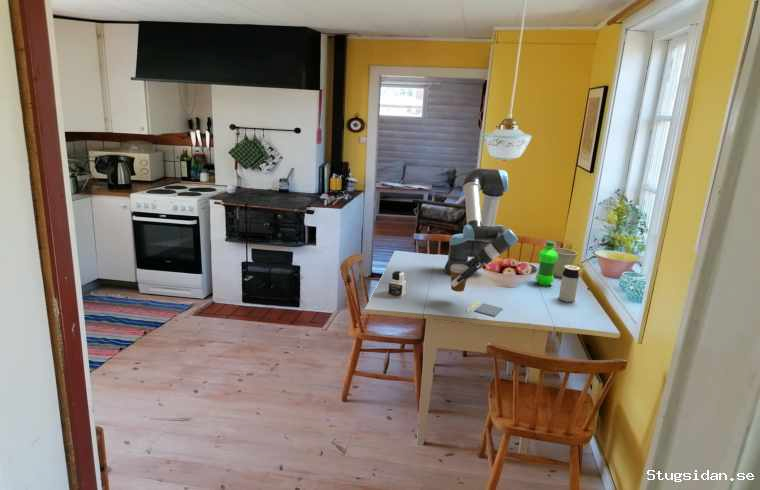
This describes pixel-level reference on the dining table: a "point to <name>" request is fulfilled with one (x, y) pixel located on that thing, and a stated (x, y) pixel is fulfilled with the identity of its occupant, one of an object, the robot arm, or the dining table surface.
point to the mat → (488, 309)
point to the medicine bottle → (397, 285)
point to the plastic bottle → (547, 265)
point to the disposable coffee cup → (455, 272)
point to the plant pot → (563, 260)
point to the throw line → (472, 307)
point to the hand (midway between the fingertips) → (451, 281)
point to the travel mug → (569, 283)
